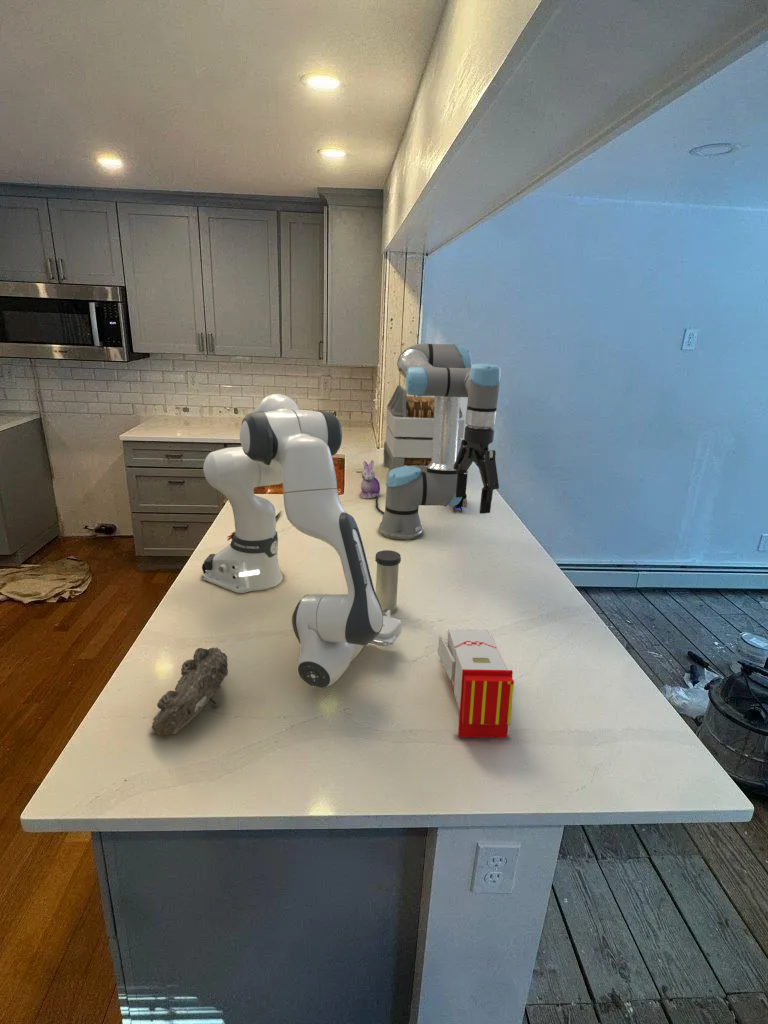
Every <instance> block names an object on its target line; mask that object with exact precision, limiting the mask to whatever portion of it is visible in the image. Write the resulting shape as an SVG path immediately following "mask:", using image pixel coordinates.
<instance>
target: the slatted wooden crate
mask: <svg viewBox="0 0 768 1024" xmlns="http://www.w3.org/2000/svg"><path fill="white" fill-rule="evenodd" d="M434 402H435V396H416V395H408V394H407V392H406V389H404V388H403V387H402V385H399V384H398V385H397V386H396V388H395V390H394V392H393V394H392V395H391V398H390V400H389V402H388V404H387V405H386V413H385V414H386V415H385V423H386V428H385V438H384V442H383V466H384V467H388V468H389V471H391V470H392V469H395V468H398V467H403V466H412V467H427V466H428V465H429V464H430V463H431V460H432V441H433V421H434ZM465 422H466V419H464V418H463V411H462V408H461V407H460V411H459V427H458V444H457V456H458V453H459V450H460V448H461V442H462V440H463V439H464V433H465ZM458 465H460V464H458Z"/></svg>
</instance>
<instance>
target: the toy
mask: <svg viewBox="0 0 768 1024" xmlns="http://www.w3.org/2000/svg"><path fill="white" fill-rule="evenodd" d="M446 640H447V643H446V641H445V639H444V636H443V635H442V634H439V637H438V646H437V656H438V657H439V659H440V661H441V663H442V666H443V668H444V670H445V672H446V674H447V677H448V679H449V681H450V684H451V687H452V690H453V693H454V697H455V701H456V705H457V708H458V711H459V714H458V715H459V716H458V730H457V731H458V732H457V737H458V738H508V731H509V726H510V725H511V717H512V707H513V697H514V696H513V695H514V684H515V680H514V679H513V673H514V671H513V670H512V669H508V667H507V665H506V662H505V661H504V659H503V658H502V655H501V653H500V651H499V649H498V647H497V643H496V639H495V637H494V635H493V634H491V632H490V631H489V629H467V628H466V629H465V628H463V629H461V628H460V629H459V628H448V630H447V639H446Z"/></svg>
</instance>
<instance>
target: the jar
mask: <svg viewBox="0 0 768 1024" xmlns="http://www.w3.org/2000/svg"><path fill="white" fill-rule="evenodd" d="M399 565H400V563H399V564H398V565H395V566H384V565H380V564H378V563H377V562H376V573H375V575H376V576H375V577H376V579H375V593H376V596H377V598H378V600H379V603H380V606H381V609H382V613H383V610H384V609H388V610H391V614H394V613H395V612H396V611H397V600H398V599H397V598H398V583H399V567H400V566H399Z"/></svg>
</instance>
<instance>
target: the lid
mask: <svg viewBox="0 0 768 1024" xmlns="http://www.w3.org/2000/svg"><path fill="white" fill-rule="evenodd" d="M401 555H402V554H400V552H398V551H395V550H390V549H389V550H387V549H386V550H385V549H384V550H380V551H377V552H376V553H375V557H374V558H375V563H376V564H377V563H378V564H380V565H384V566H395V565H398V564H399V565H400V563H401V561H402V557H401Z"/></svg>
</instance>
